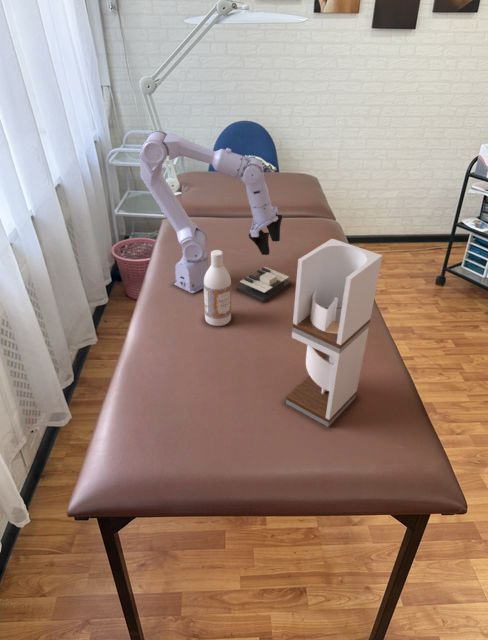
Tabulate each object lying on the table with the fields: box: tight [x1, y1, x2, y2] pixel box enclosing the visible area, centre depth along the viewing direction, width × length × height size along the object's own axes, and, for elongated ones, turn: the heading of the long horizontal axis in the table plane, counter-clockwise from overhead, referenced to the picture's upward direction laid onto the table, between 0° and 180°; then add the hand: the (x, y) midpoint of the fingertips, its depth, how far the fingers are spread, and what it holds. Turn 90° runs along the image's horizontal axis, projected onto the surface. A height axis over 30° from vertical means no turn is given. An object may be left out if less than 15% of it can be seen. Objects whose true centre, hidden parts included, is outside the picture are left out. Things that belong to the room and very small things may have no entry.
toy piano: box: [236, 273, 292, 304], centre depth 149 cm, size 10×13×3 cm
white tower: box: [285, 238, 383, 428], centre depth 101 cm, size 11×11×35 cm
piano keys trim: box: [239, 266, 290, 293], centre depth 147 cm, size 9×12×1 cm
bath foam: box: [203, 249, 232, 327], centre depth 130 cm, size 7×7×20 cm
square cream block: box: [260, 272, 277, 286], centre depth 147 cm, size 4×4×2 cm
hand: (271, 247), depth 145 cm, fingers open, 7 cm apart
